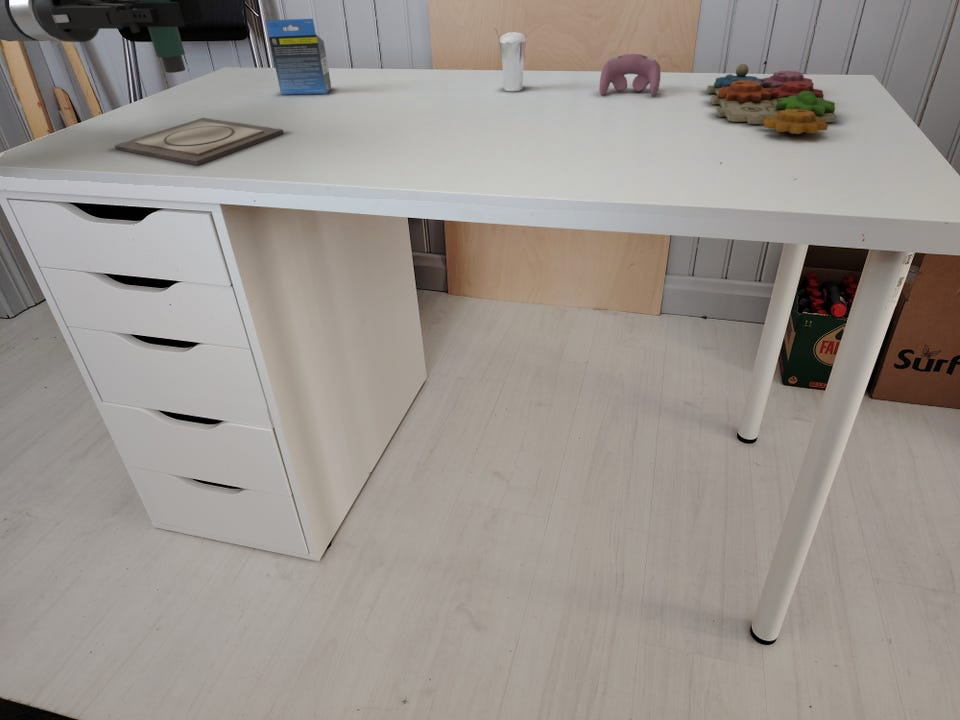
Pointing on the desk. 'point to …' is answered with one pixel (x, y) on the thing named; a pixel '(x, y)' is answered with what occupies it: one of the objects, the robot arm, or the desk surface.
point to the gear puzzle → (773, 101)
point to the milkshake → (512, 59)
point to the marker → (167, 45)
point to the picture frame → (199, 140)
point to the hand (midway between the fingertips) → (190, 12)
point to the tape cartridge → (299, 57)
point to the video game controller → (631, 65)
